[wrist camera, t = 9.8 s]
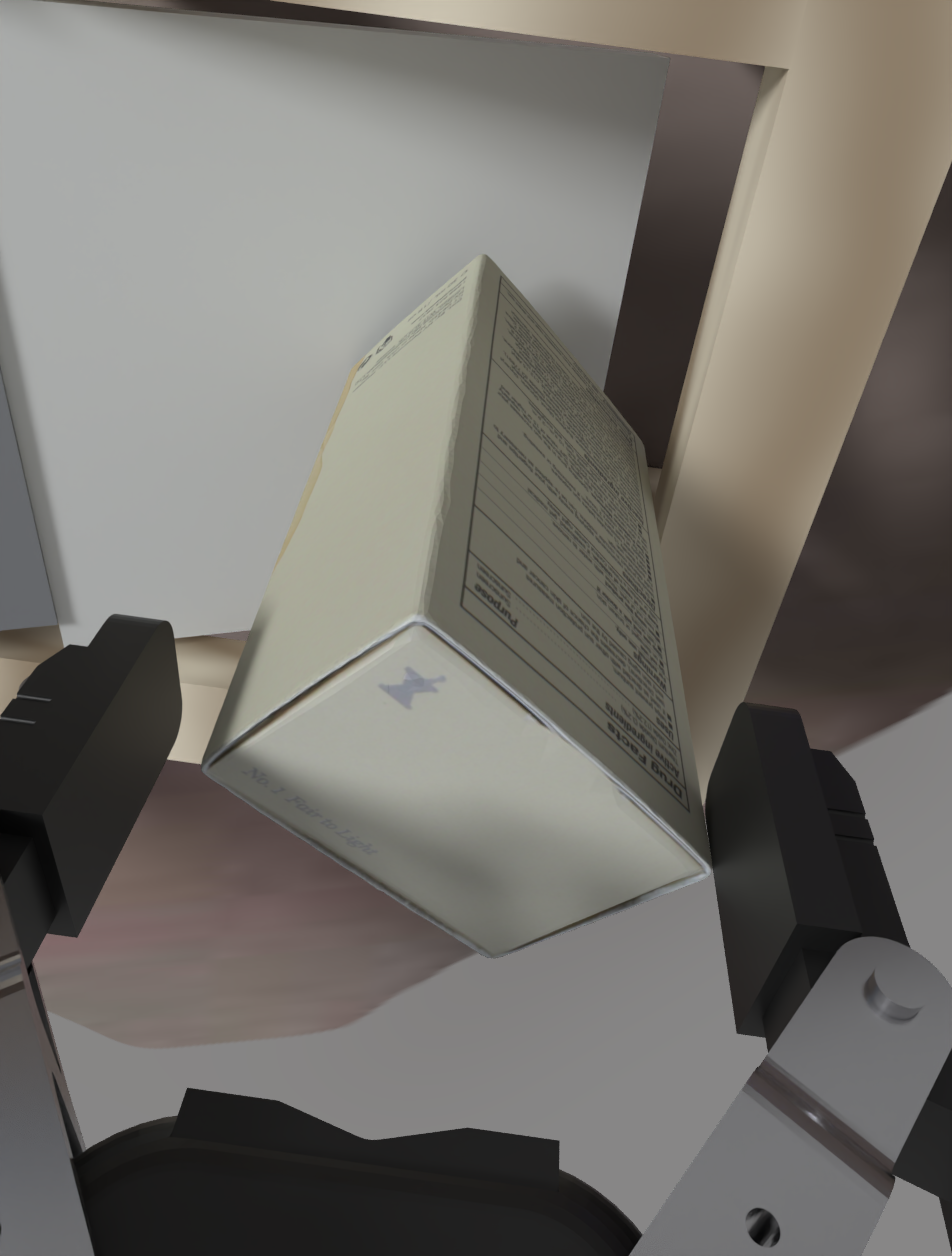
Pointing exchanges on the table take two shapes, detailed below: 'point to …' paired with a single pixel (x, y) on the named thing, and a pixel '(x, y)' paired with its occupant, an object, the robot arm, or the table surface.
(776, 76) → the stand
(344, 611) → the skincare box
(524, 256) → the grey flat block
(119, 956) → the table surface
